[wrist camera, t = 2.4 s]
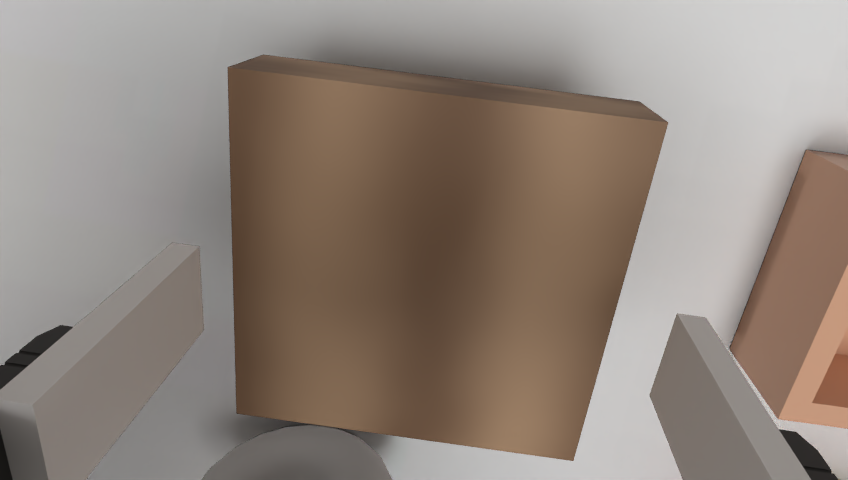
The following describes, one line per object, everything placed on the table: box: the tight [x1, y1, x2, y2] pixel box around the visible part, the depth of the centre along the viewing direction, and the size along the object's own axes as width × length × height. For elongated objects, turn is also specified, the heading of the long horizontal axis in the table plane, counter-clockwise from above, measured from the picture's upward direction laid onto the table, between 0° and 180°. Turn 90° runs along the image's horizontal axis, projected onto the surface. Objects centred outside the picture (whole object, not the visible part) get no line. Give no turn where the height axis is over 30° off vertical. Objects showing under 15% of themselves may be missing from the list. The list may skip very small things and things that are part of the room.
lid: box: [228, 55, 668, 461], centre depth 20 cm, size 12×12×3 cm
